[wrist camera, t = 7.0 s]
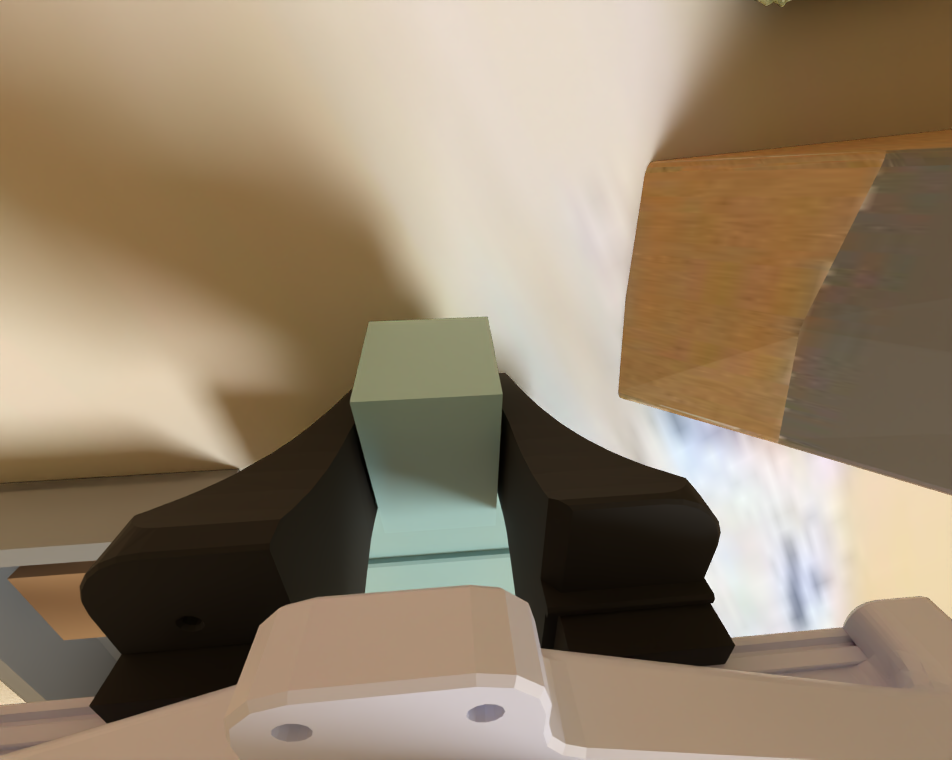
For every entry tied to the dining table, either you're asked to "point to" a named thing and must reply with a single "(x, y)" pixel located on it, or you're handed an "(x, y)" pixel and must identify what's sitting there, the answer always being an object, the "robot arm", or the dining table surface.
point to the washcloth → (780, 0)
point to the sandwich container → (802, 299)
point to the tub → (61, 541)
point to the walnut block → (58, 597)
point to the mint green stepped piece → (432, 454)
